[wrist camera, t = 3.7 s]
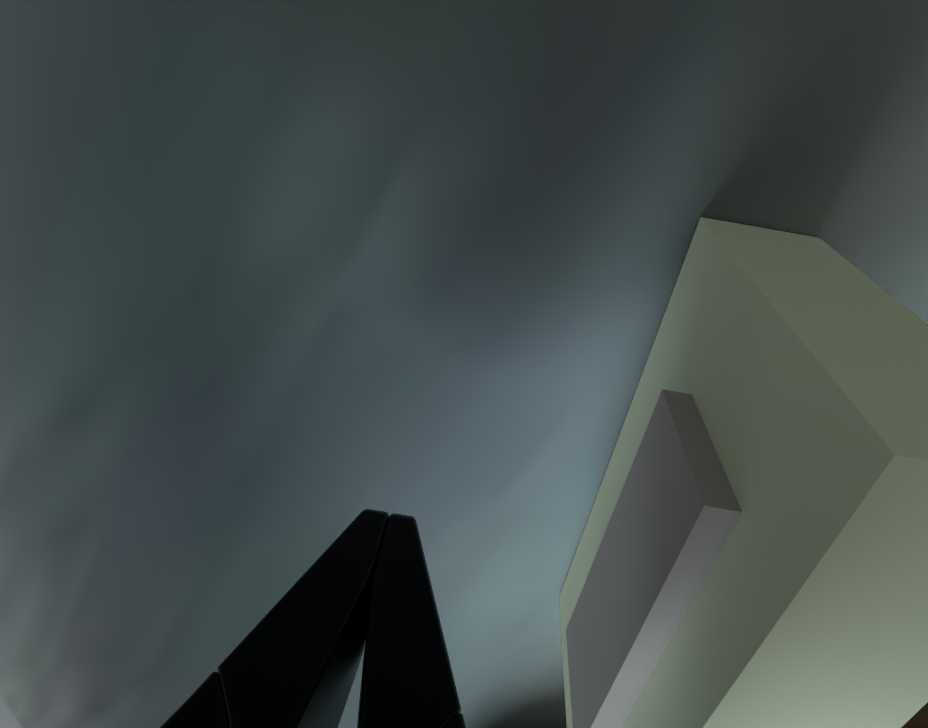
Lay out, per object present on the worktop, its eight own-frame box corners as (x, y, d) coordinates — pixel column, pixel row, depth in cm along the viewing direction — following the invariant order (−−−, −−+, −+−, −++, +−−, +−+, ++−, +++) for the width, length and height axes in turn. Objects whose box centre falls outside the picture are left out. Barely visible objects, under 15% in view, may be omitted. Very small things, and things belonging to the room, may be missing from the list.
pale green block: (819, 237, 10) (1144, 497, 5) (636, 611, 15) (694, 923, 10) (673, 211, 10) (839, 445, 5) (541, 595, 15) (551, 900, 10)
